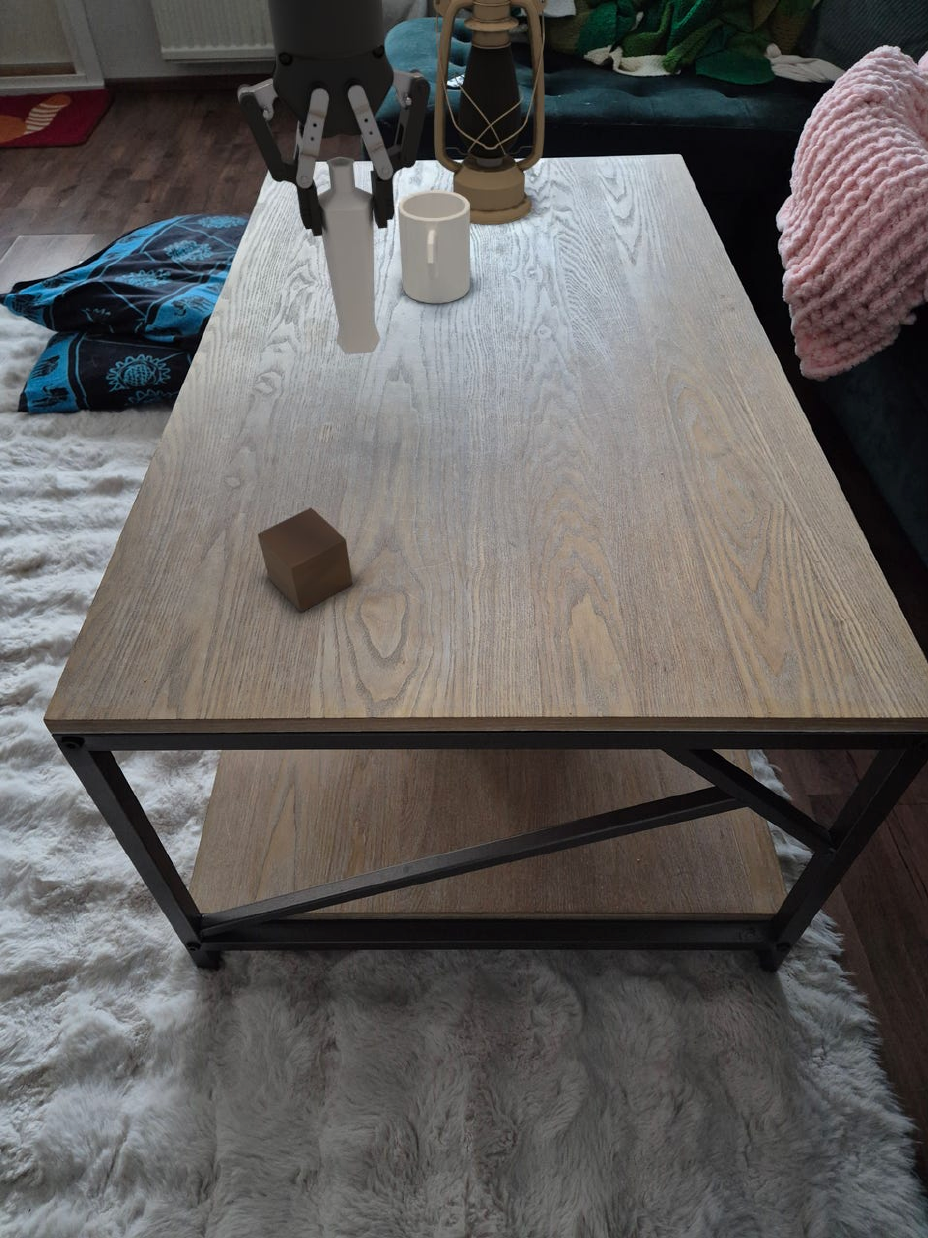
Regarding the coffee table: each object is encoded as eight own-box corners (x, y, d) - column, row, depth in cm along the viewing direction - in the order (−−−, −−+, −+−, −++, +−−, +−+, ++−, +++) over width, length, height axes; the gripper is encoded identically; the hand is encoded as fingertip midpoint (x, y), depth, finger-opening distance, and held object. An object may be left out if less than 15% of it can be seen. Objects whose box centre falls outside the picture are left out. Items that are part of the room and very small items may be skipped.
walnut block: (300, 613, 68) (291, 568, 64) (268, 578, 70) (257, 533, 66) (352, 584, 70) (346, 539, 66) (319, 551, 72) (311, 506, 69)
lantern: (436, 225, 115) (429, -55, 92) (435, 189, 123) (427, -76, 100) (544, 222, 115) (562, -57, 93) (536, 187, 123) (550, -78, 101)
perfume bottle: (393, 349, 75) (381, 167, 63) (346, 360, 73) (325, 177, 62) (374, 325, 77) (359, 146, 66) (328, 336, 76) (305, 155, 65)
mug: (397, 320, 98) (391, 234, 91) (406, 271, 106) (401, 188, 99) (467, 321, 98) (467, 235, 90) (470, 272, 106) (470, 189, 98)
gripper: (416, -59, 58) (426, 199, 71) (204, -46, 56) (253, 219, 69) (442, -35, 53) (447, 238, 66) (211, -20, 51) (262, 260, 64)
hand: (348, 227), depth 67 cm, fingers closed on perfume bottle, 4 cm apart
